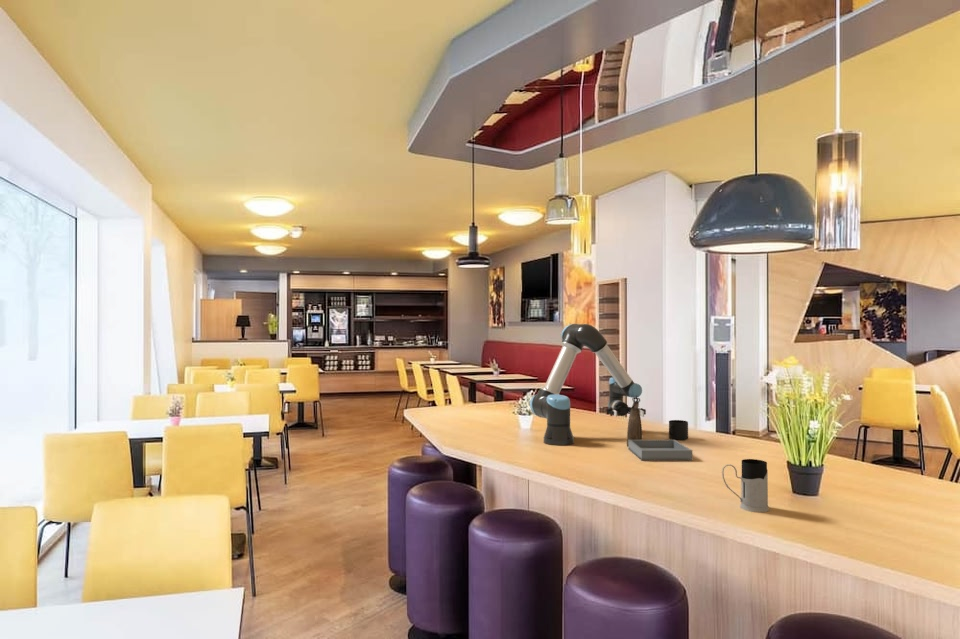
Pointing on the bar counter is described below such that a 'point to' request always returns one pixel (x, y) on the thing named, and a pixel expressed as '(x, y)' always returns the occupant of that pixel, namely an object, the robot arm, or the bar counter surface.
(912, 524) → the bar counter surface
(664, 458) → the box
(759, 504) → the glass holder
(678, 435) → the mug
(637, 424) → the statue
